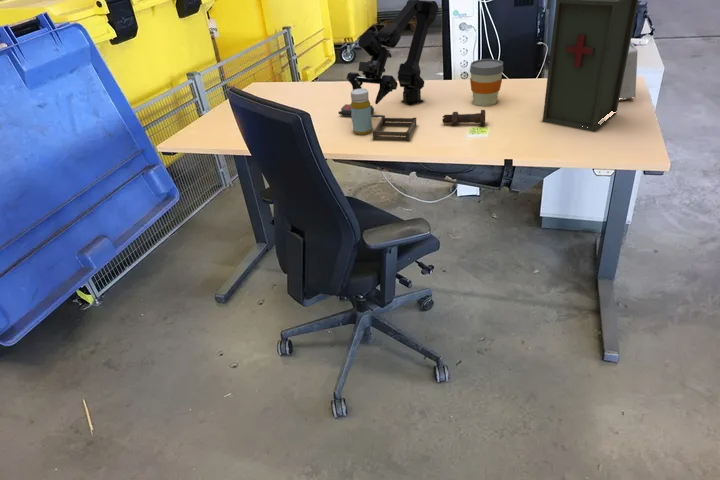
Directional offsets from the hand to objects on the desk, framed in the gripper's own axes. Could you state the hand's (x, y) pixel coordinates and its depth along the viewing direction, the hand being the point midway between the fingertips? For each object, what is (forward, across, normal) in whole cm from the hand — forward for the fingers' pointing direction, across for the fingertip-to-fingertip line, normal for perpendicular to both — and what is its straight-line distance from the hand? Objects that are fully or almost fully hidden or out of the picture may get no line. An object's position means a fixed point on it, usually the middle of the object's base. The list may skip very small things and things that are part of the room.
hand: (364, 102), depth 187 cm
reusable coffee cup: (-20, +31, +35) cm, 51 cm away
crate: (+7, +12, +7) cm, 16 cm away
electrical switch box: (-34, +73, +49) cm, 94 cm away
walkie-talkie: (-1, -8, +15) cm, 17 cm away
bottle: (+9, 0, +5) cm, 11 cm away
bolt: (-3, +32, +18) cm, 37 cm away
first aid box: (-16, +68, +30) cm, 76 cm away
